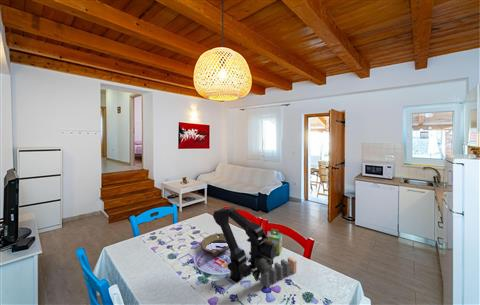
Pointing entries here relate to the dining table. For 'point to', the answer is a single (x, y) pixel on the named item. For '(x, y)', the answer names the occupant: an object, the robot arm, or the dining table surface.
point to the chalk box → (275, 240)
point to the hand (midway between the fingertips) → (256, 280)
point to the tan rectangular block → (292, 264)
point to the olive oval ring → (214, 239)
